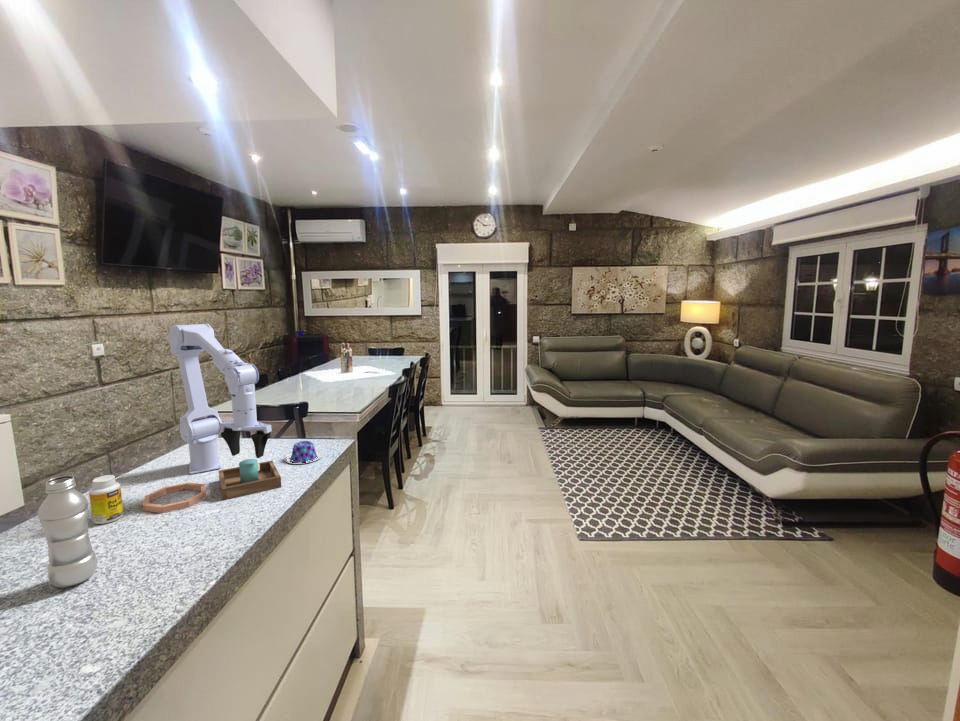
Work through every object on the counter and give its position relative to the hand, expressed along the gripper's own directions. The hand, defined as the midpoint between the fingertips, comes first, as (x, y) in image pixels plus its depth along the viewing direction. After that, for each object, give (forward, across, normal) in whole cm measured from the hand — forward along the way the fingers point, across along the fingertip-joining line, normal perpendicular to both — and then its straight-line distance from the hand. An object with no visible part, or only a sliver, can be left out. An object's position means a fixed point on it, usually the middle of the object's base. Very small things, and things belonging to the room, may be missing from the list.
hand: (247, 455), depth 118 cm
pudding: (+9, +4, +21) cm, 23 cm away
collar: (+8, -12, -12) cm, 19 cm away
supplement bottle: (+9, -19, -23) cm, 31 cm away
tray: (+8, 0, 0) cm, 8 cm away
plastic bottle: (+9, -3, -42) cm, 43 cm away
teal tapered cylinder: (+8, 0, 0) cm, 8 cm away
